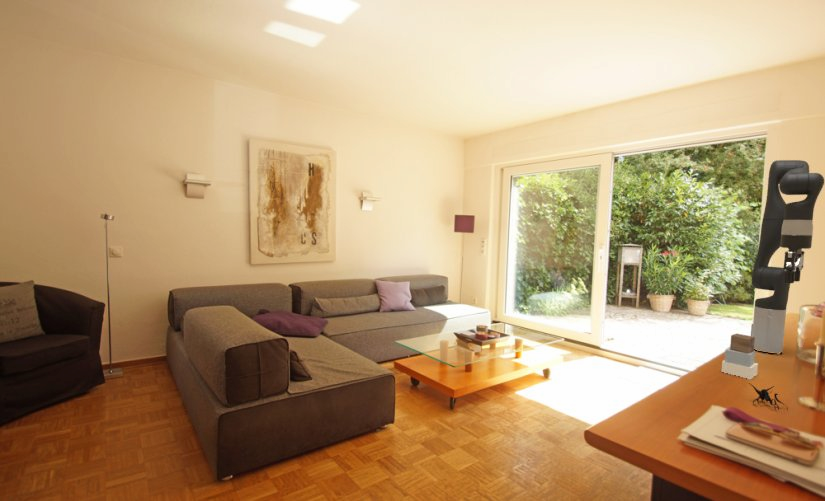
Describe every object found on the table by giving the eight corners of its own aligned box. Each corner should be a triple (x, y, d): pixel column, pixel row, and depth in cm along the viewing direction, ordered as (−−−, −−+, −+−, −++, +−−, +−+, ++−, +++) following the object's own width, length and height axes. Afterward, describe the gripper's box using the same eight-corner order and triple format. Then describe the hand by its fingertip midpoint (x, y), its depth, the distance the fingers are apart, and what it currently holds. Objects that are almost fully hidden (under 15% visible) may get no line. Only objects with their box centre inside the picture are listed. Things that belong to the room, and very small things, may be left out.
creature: (793, 417, 104) (774, 398, 111) (798, 400, 102) (778, 381, 110) (758, 413, 105) (741, 395, 113) (763, 396, 104) (745, 378, 111)
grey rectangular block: (729, 357, 136) (730, 346, 136) (754, 363, 131) (755, 351, 131) (724, 361, 132) (725, 349, 132) (749, 367, 127) (750, 355, 127)
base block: (728, 368, 137) (729, 357, 137) (757, 375, 131) (758, 363, 131) (721, 372, 133) (722, 361, 132) (750, 380, 127) (751, 368, 126)
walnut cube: (735, 347, 134) (736, 333, 134) (753, 351, 130) (754, 337, 130) (730, 349, 132) (731, 335, 131) (748, 353, 128) (749, 339, 127)
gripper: (786, 233, 141) (782, 279, 142) (776, 233, 132) (771, 282, 133) (816, 234, 135) (812, 282, 136) (807, 234, 126) (803, 285, 127)
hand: (792, 282), depth 134 cm, fingers open, 8 cm apart
